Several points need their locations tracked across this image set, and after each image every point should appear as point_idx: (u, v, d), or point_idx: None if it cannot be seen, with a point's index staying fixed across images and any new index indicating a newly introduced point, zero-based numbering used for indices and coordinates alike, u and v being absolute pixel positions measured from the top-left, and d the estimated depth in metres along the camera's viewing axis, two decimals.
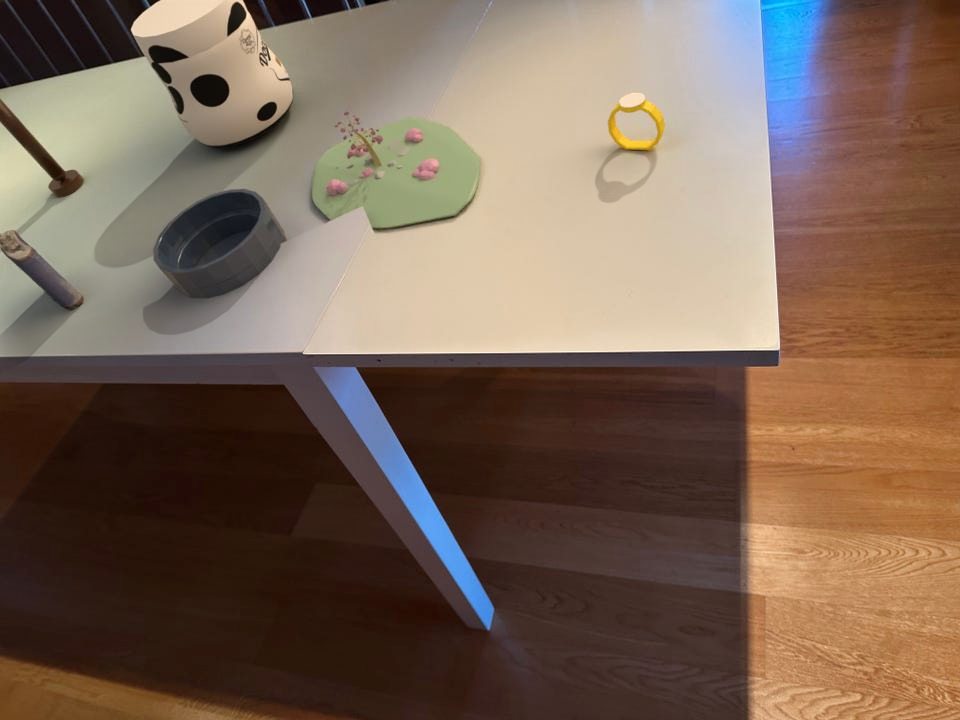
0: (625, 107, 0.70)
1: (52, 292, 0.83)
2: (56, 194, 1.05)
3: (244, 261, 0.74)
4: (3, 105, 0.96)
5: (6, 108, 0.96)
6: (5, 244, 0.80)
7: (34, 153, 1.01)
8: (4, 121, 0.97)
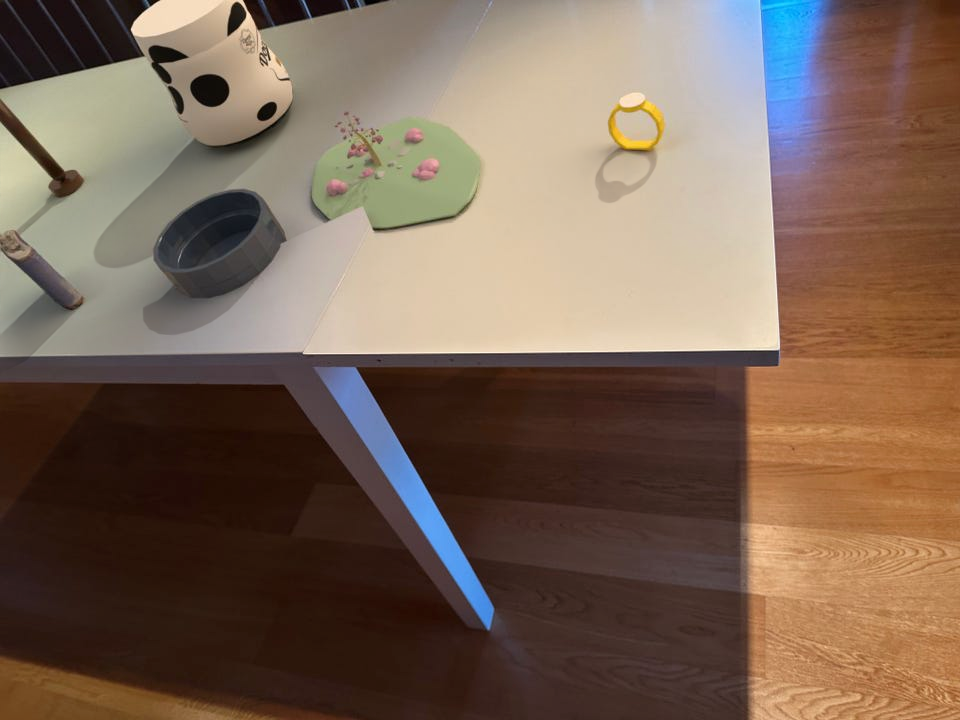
0: (625, 107, 0.70)
1: (52, 292, 0.83)
2: (56, 194, 1.05)
3: (244, 261, 0.74)
4: (3, 105, 0.96)
5: (6, 108, 0.96)
6: (5, 244, 0.80)
7: (34, 153, 1.01)
8: (4, 121, 0.97)
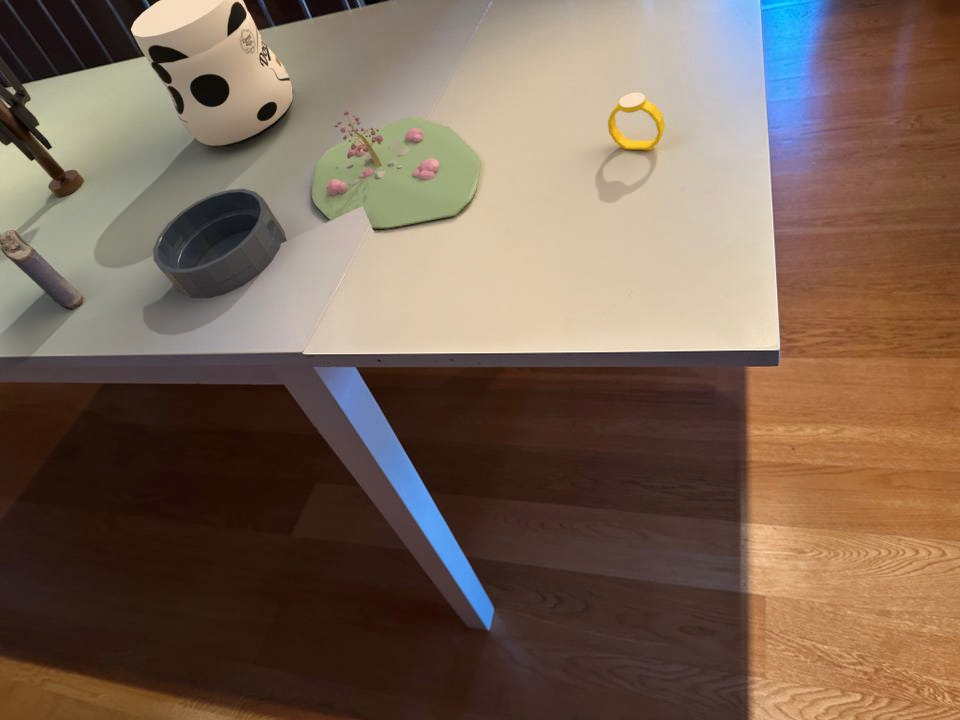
0: (625, 107, 0.70)
1: (52, 292, 0.83)
2: (56, 194, 1.05)
3: (244, 261, 0.74)
4: (3, 105, 0.96)
5: (6, 108, 0.96)
6: (5, 244, 0.80)
7: (34, 153, 1.01)
8: (4, 121, 0.97)
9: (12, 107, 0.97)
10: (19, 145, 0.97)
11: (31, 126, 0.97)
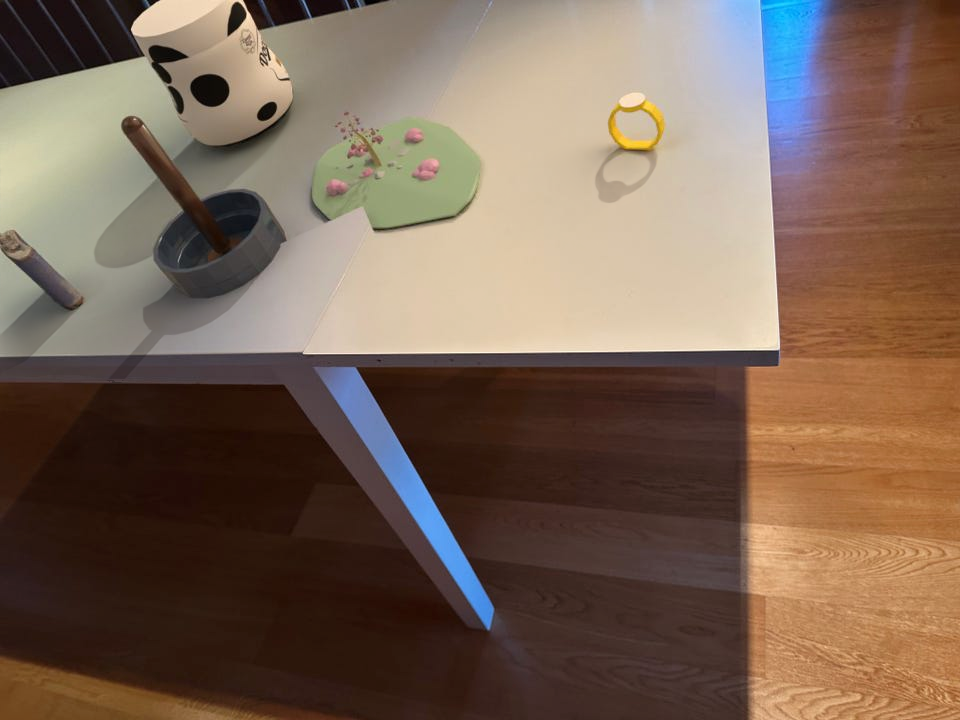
0: (625, 107, 0.70)
1: (52, 292, 0.83)
2: None
3: (244, 261, 0.74)
4: (168, 160, 0.70)
5: (171, 163, 0.70)
6: (5, 244, 0.80)
7: (199, 221, 0.75)
8: (168, 181, 0.71)
9: None
10: None
11: None
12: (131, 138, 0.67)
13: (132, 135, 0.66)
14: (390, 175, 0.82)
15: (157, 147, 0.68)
